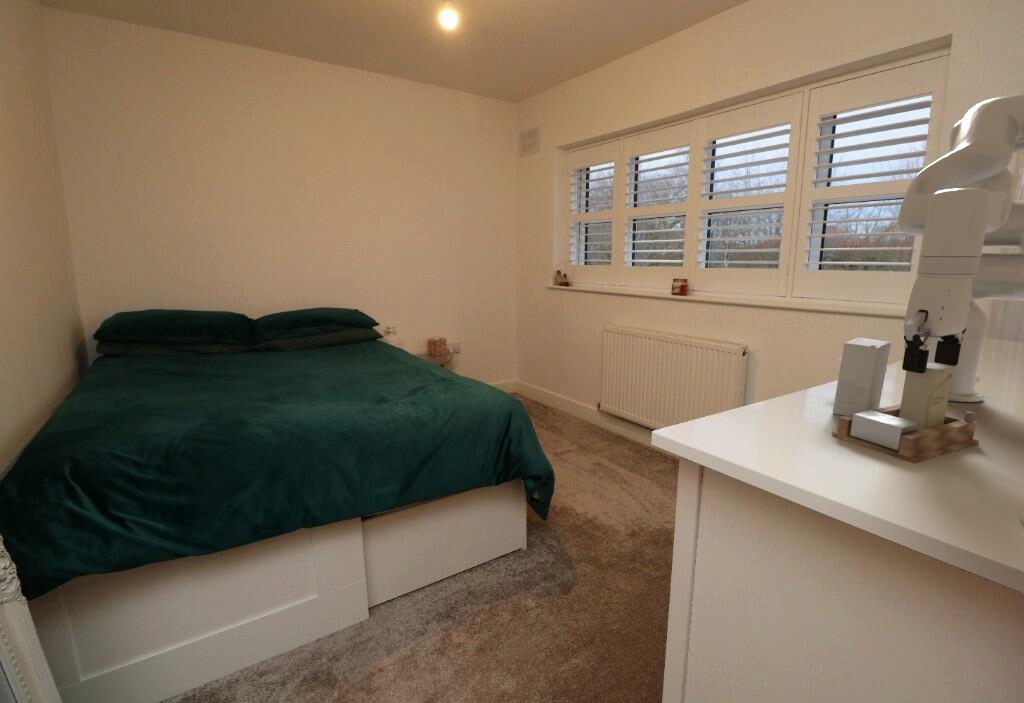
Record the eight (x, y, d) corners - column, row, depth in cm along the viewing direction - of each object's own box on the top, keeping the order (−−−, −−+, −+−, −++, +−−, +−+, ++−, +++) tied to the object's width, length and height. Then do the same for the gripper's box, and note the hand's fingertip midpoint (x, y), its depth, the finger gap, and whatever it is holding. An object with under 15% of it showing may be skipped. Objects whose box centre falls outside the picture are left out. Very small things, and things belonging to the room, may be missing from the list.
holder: (895, 420, 93) (899, 395, 92) (978, 443, 82) (984, 414, 81) (832, 435, 86) (835, 407, 84) (914, 462, 74) (920, 431, 73)
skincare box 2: (924, 439, 82) (937, 369, 80) (894, 431, 86) (905, 364, 84) (943, 433, 85) (956, 366, 82) (913, 425, 89) (925, 360, 86)
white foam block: (867, 430, 85) (871, 410, 84) (915, 445, 79) (919, 423, 78) (850, 435, 83) (853, 413, 82) (897, 450, 77) (901, 427, 76)
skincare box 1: (845, 406, 102) (856, 336, 99) (880, 413, 98) (892, 340, 95) (831, 414, 97) (841, 341, 94) (867, 422, 92) (879, 345, 89)
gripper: (948, 264, 86) (932, 357, 90) (890, 269, 80) (875, 369, 83) (1003, 265, 80) (983, 366, 84) (946, 271, 73) (926, 380, 77)
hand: (929, 367), depth 84 cm, fingers open, 9 cm apart
